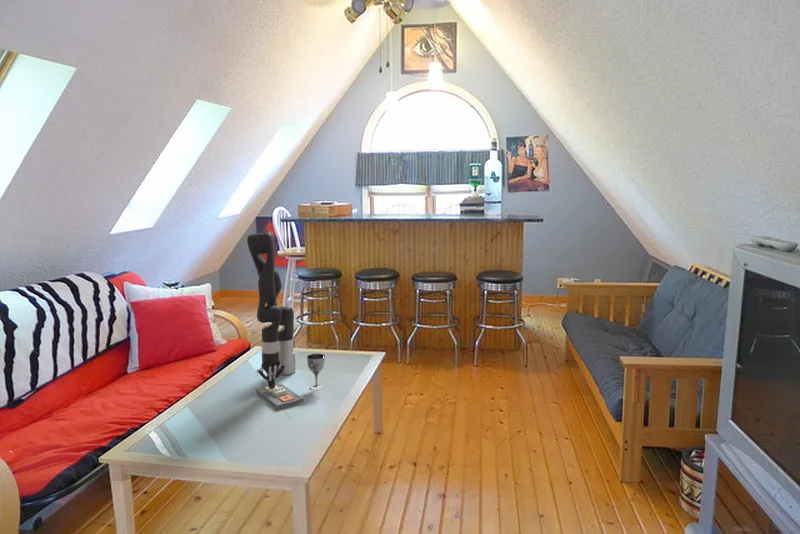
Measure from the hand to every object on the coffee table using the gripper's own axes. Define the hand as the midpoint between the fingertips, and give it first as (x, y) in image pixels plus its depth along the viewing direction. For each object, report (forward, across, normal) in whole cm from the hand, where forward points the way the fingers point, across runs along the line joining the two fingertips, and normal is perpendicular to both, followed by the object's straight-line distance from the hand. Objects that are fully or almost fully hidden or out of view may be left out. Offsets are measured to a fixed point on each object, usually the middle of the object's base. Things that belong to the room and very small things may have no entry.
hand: (271, 387), depth 247 cm
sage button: (+1, 0, +7) cm, 7 cm away
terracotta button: (+3, 0, +14) cm, 14 cm away
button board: (+3, 0, +7) cm, 7 cm away
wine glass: (+3, -19, +6) cm, 20 cm away
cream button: (+3, 0, 0) cm, 3 cm away
